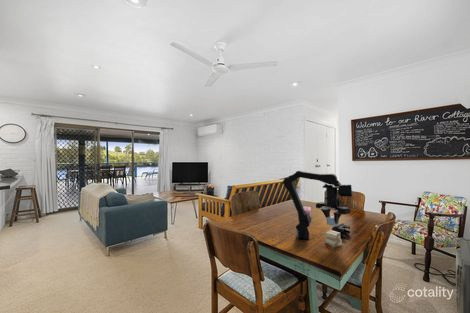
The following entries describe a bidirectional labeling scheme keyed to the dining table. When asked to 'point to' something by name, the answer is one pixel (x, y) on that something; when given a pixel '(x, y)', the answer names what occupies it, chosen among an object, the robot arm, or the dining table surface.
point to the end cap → (342, 230)
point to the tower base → (333, 242)
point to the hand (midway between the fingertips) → (332, 222)
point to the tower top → (333, 235)
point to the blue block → (331, 221)
